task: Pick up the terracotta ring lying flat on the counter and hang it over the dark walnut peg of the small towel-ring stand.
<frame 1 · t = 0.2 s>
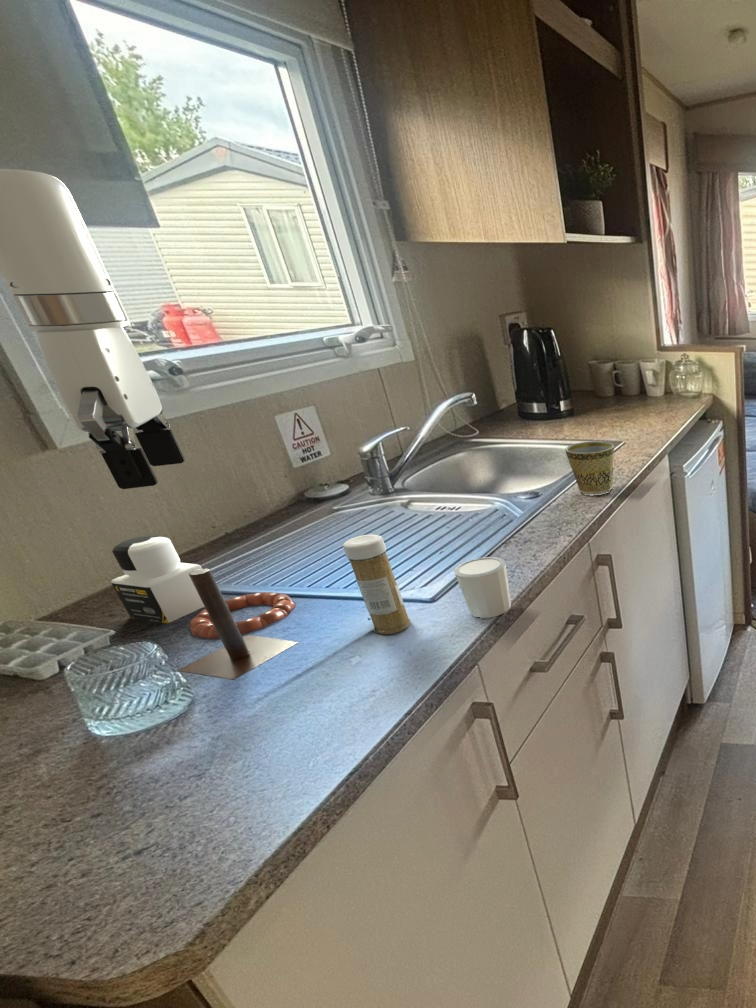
hand: (154, 474, 75), 24 cm above the countertop, tool pointing down, fingers open, 9 cm apart
ceramic cup: (598, 490, 146), on the countertop
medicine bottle: (179, 616, 96), on the countertop
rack: (244, 663, 85), on the countertop
ring: (244, 616, 94), point 1 cm above the countertop
sprinkles bottle: (393, 629, 93), on the countertop
white tapered tub: (491, 610, 97), on the countertop
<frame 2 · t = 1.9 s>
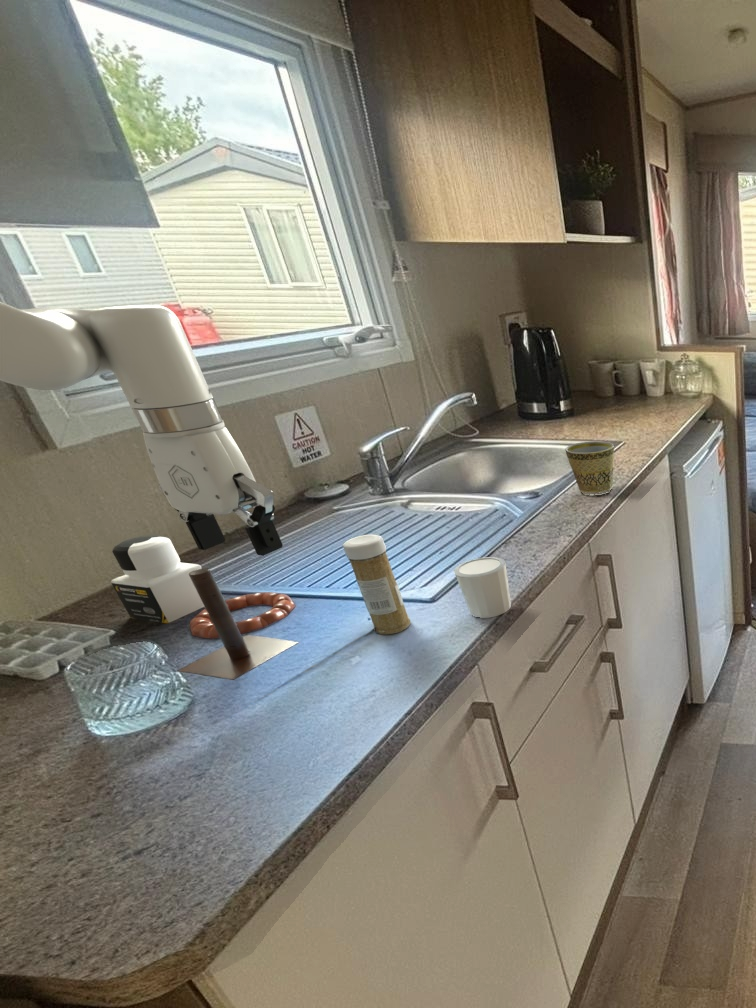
hand: (241, 548, 87), 12 cm above the countertop, tool pointing down, fingers open, 9 cm apart
nothing on the countertop moved.
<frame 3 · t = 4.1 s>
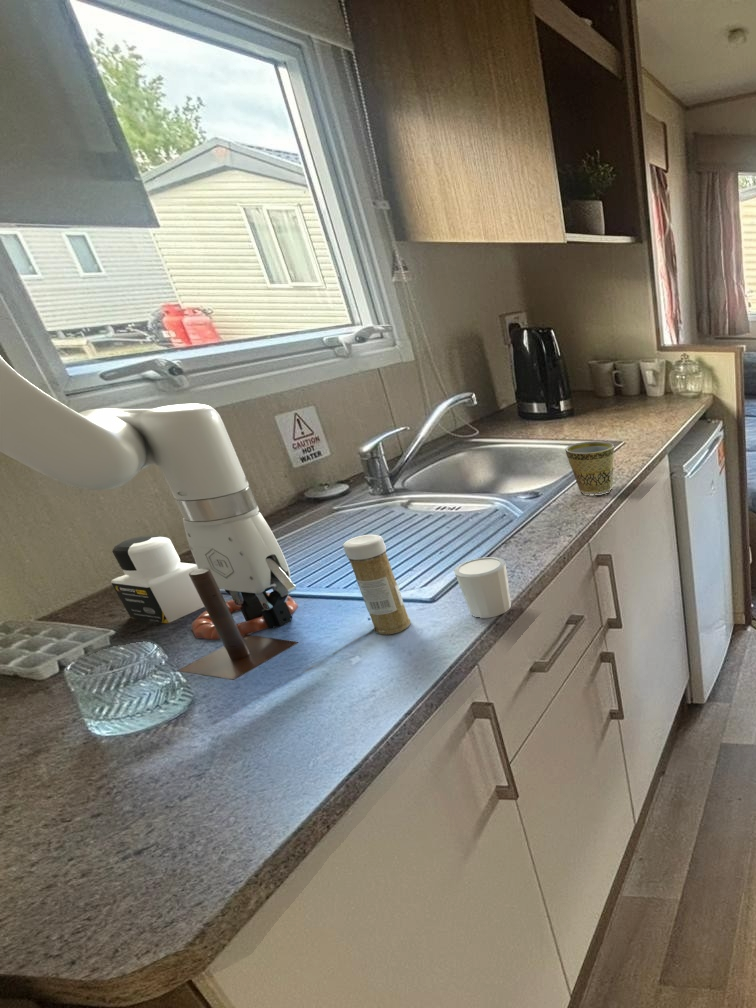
hand: (273, 627, 93), 0 cm above the countertop, tool pointing down, fingers closed on ring, 2 cm apart
ring: (246, 617, 93), point 1 cm above the countertop, touching gripper, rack
everything else where it was.
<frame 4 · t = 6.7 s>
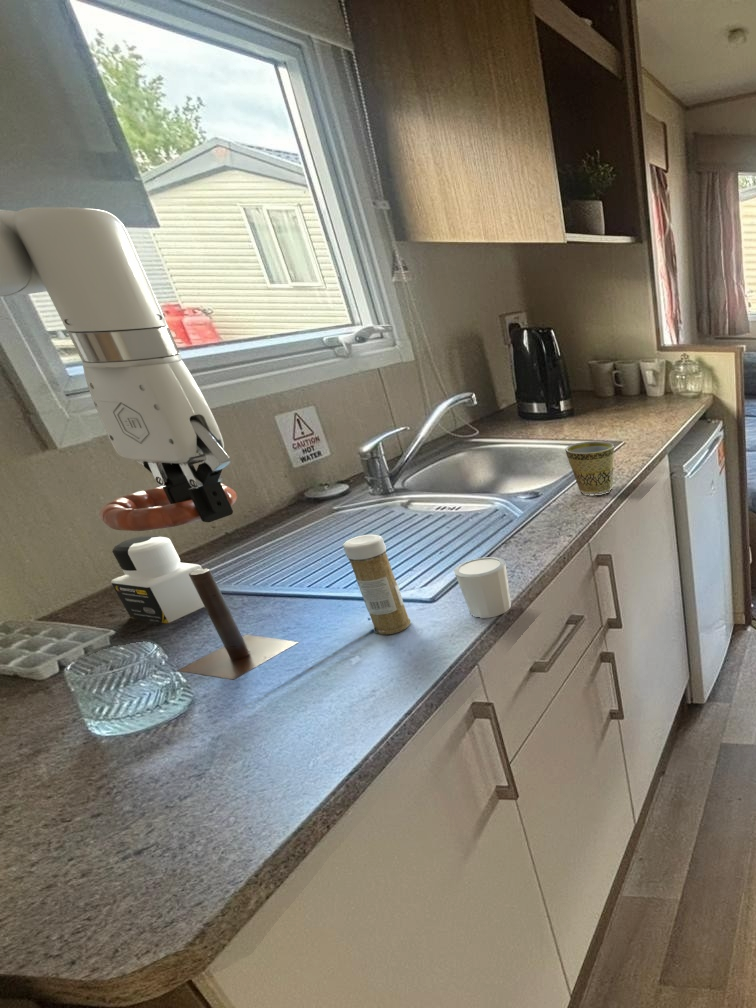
hand: (206, 515, 76), 20 cm above the countertop, tool pointing down, fingers closed on ring, 2 cm apart
ring: (171, 505, 76), point 21 cm above the countertop, touching gripper
everything else where it was.
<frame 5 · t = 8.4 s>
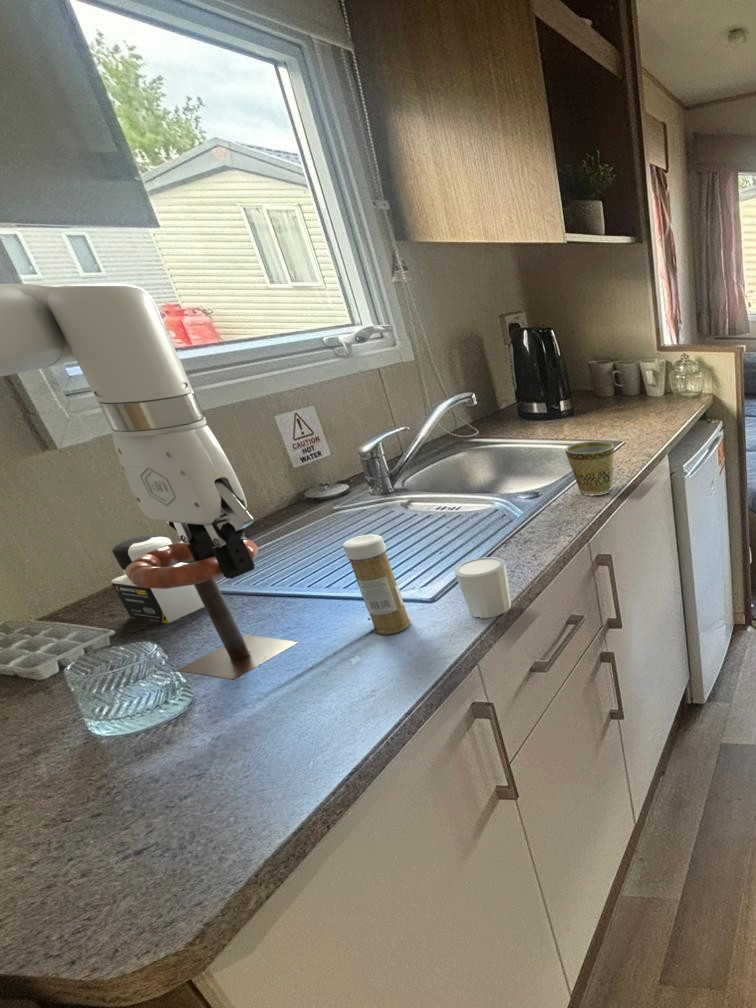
hand: (228, 571, 77), 14 cm above the countertop, tool pointing down, fingers closed on ring, 2 cm apart
ring: (194, 560, 78), point 15 cm above the countertop, touching gripper
everything else where it was.
when the fingers open (11 cm above the countertop, at t = 9.5 s): ring drops 9 cm, resting on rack.
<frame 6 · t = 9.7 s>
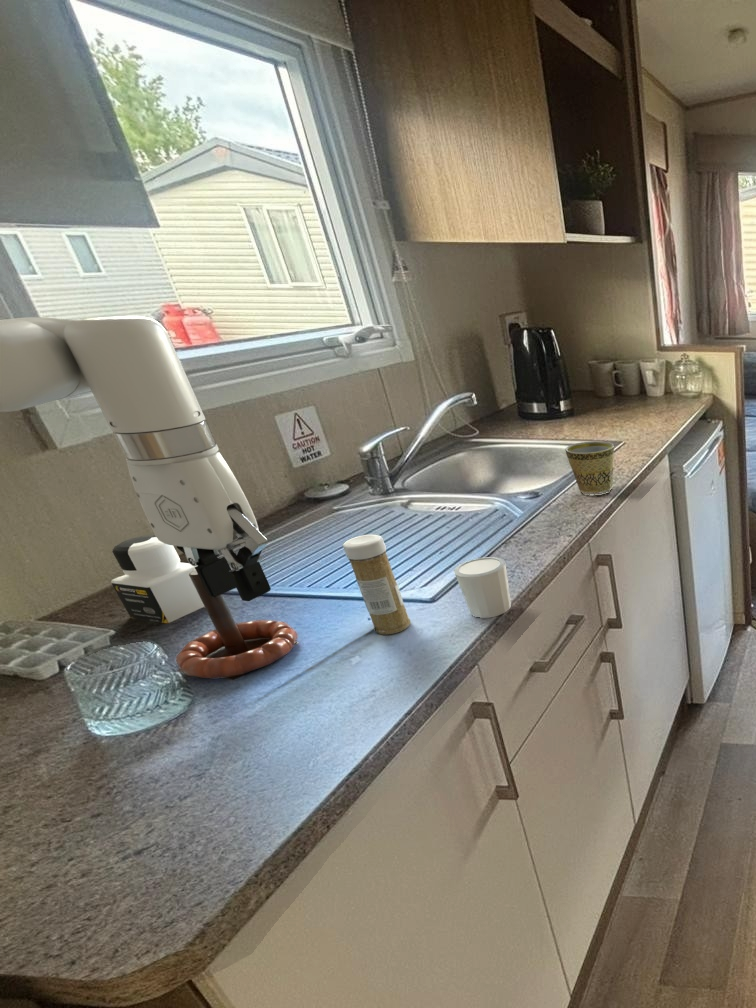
hand: (240, 592, 79), 11 cm above the countertop, tool pointing down, fingers open, 4 cm apart
ring: (239, 647, 83), point 3 cm above the countertop, touching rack
everything else where it was.
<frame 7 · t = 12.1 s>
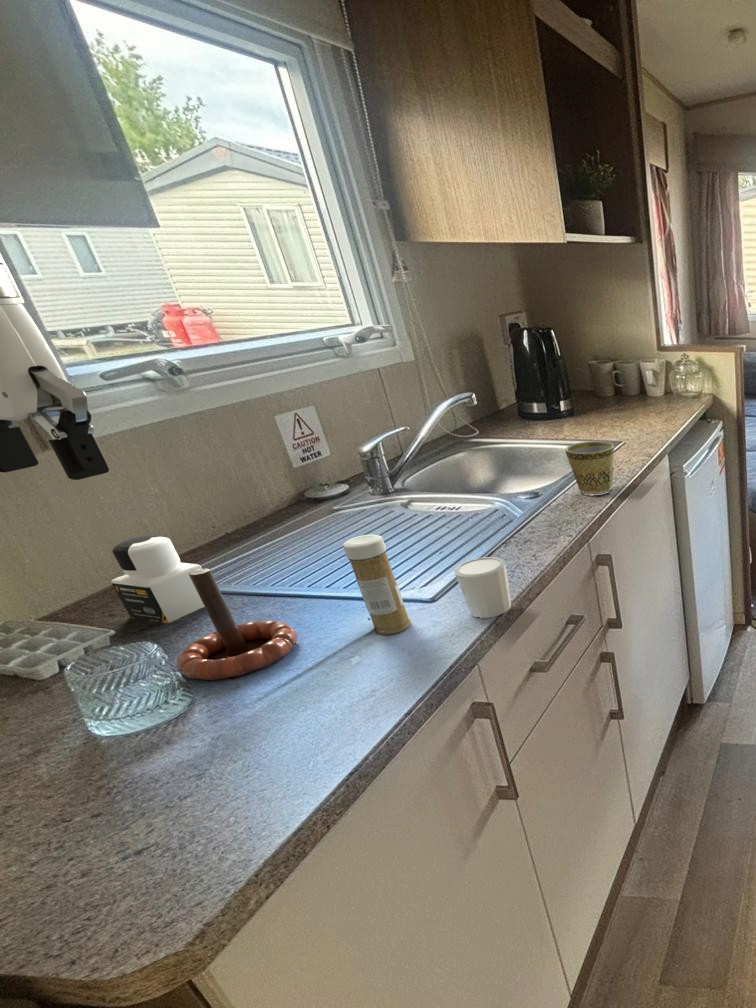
hand: (54, 472, 67), 27 cm above the countertop, tool pointing down, fingers open, 9 cm apart
nothing on the countertop moved.
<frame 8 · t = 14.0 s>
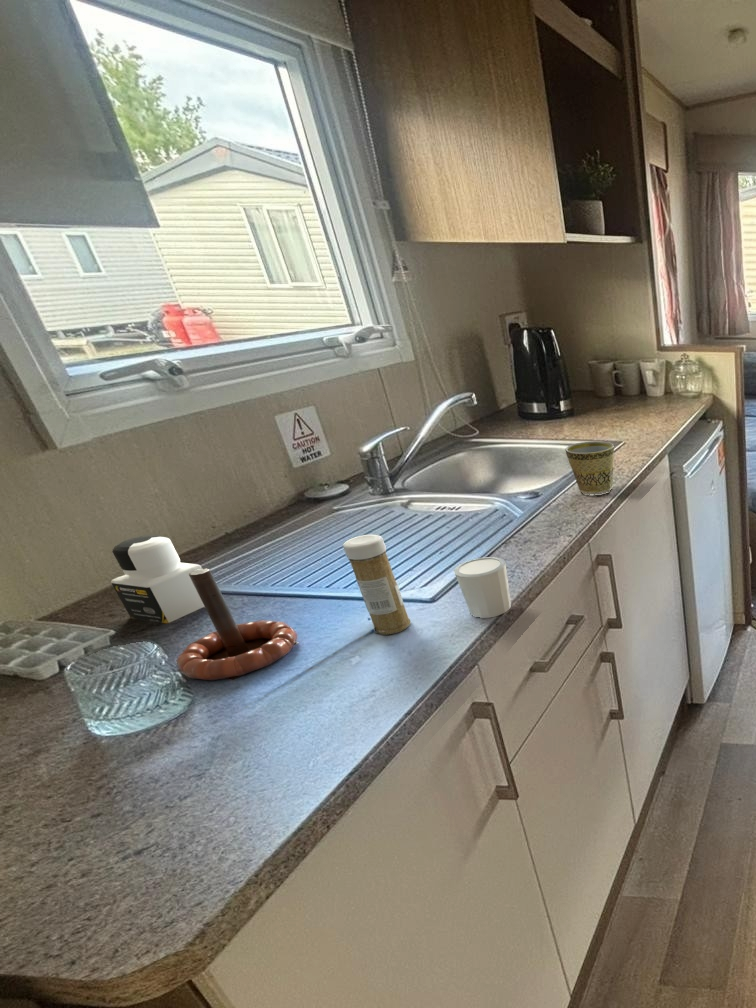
nothing on the countertop moved.
at the end: ring 0.6 cm from the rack (horizontally); ring point 2.4 cm above the countertop; the gripper is holding nothing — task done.
